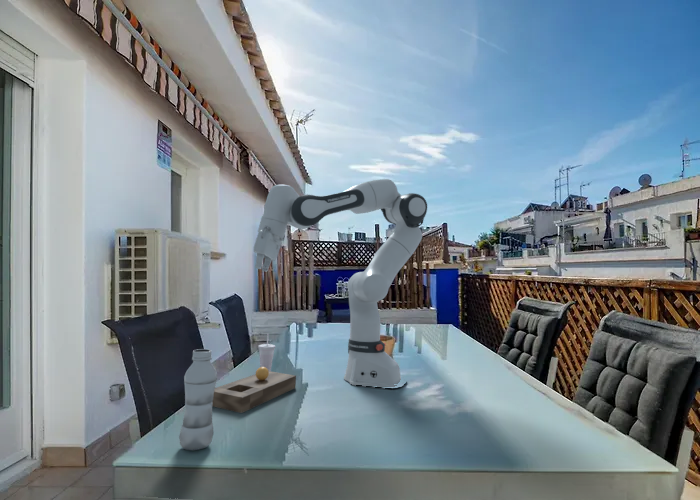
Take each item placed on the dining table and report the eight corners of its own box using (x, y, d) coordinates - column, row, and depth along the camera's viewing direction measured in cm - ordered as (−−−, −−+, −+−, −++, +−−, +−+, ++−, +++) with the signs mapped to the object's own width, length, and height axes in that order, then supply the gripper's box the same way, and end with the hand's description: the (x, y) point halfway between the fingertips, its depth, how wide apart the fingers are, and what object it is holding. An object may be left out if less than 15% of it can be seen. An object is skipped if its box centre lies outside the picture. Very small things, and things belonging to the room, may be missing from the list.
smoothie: (276, 369, 145) (278, 333, 146) (271, 374, 139) (273, 335, 140) (260, 368, 146) (262, 332, 147) (254, 373, 139) (256, 334, 140)
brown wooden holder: (295, 388, 123) (295, 375, 123) (241, 413, 99) (242, 397, 99) (265, 382, 128) (266, 370, 128) (207, 405, 104) (208, 390, 104)
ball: (271, 379, 117) (271, 366, 118) (263, 382, 114) (263, 369, 114) (260, 377, 119) (261, 364, 119) (252, 380, 115) (253, 367, 116)
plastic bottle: (184, 440, 82) (190, 347, 83) (216, 440, 82) (222, 348, 84) (173, 454, 75) (180, 353, 77) (208, 454, 76) (214, 354, 77)
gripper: (275, 226, 117) (263, 269, 115) (285, 237, 137) (276, 274, 135) (255, 221, 117) (243, 264, 115) (269, 233, 137) (259, 270, 135)
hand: (261, 270), depth 125 cm, fingers open, 8 cm apart
